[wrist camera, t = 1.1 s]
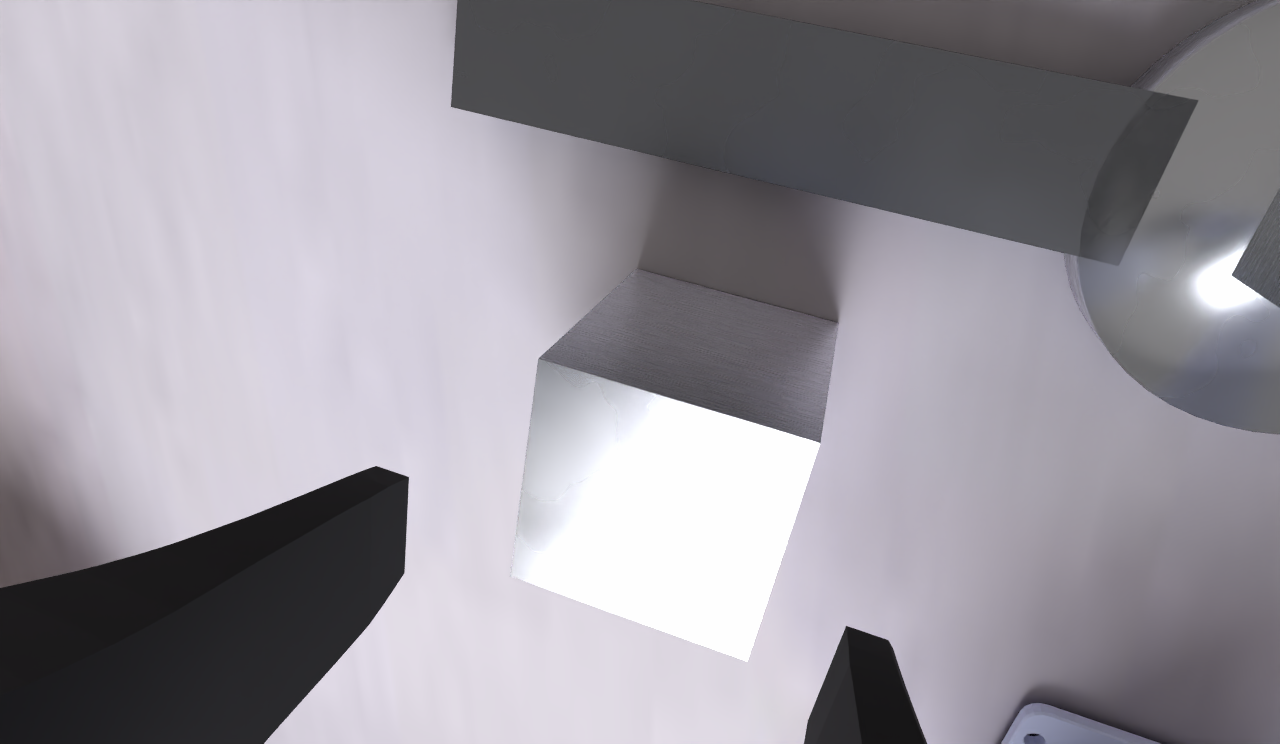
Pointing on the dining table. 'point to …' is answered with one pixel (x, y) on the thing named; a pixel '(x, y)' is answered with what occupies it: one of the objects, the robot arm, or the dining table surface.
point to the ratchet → (956, 154)
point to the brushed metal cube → (673, 456)
